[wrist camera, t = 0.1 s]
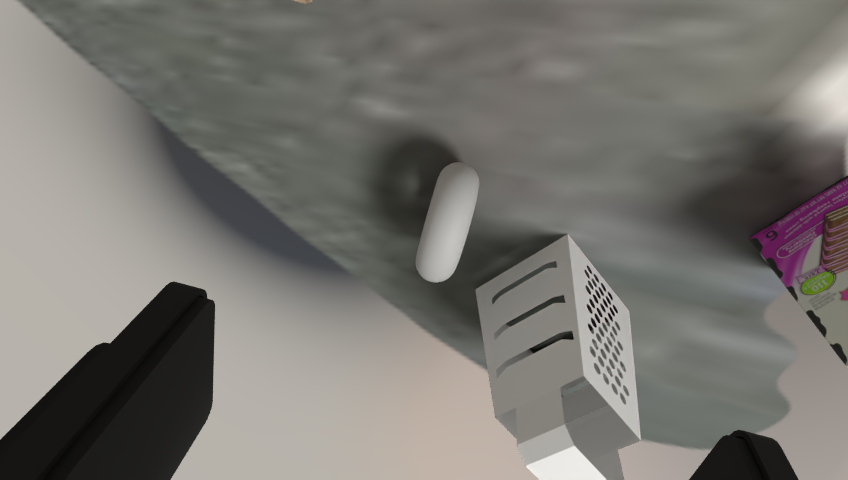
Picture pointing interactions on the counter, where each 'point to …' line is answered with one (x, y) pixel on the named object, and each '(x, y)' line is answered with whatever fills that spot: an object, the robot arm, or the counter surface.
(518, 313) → the grater
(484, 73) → the counter surface
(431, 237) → the donut
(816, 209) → the candy bar box
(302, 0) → the board
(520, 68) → the counter surface
